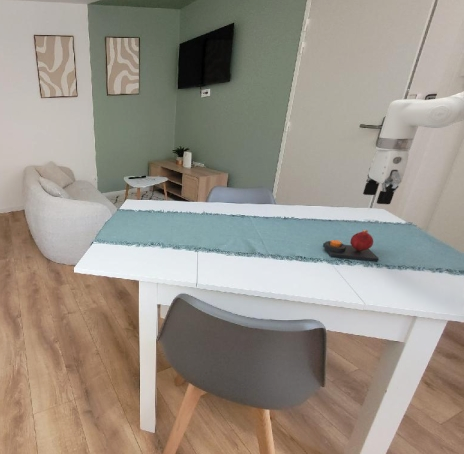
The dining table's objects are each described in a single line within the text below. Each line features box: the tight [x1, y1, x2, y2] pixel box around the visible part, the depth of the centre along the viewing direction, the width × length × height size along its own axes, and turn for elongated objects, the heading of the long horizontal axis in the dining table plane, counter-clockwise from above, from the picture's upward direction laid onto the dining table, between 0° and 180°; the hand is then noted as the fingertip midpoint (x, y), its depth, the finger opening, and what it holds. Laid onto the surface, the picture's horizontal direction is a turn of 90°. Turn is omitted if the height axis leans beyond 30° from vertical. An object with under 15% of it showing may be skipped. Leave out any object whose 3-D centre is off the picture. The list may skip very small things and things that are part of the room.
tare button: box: [330, 239, 342, 247], centre depth 102 cm, size 3×3×2 cm
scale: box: [322, 240, 379, 263], centre depth 102 cm, size 14×9×3 cm, turn 70°
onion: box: [350, 229, 374, 251], centre depth 99 cm, size 6×6×8 cm
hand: (375, 199), depth 93 cm, fingers open, 9 cm apart
